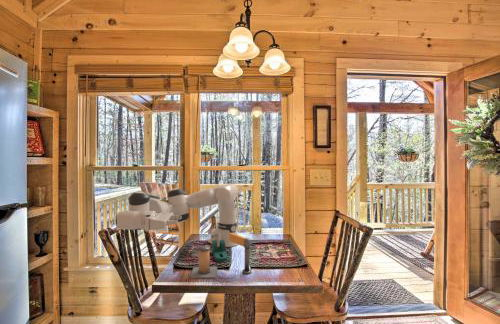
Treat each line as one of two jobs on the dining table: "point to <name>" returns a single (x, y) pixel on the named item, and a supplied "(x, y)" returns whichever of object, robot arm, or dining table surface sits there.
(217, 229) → the robot arm
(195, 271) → the pad
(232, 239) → the orange wooden bar
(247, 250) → the post
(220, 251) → the bracket
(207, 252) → the cylinder
